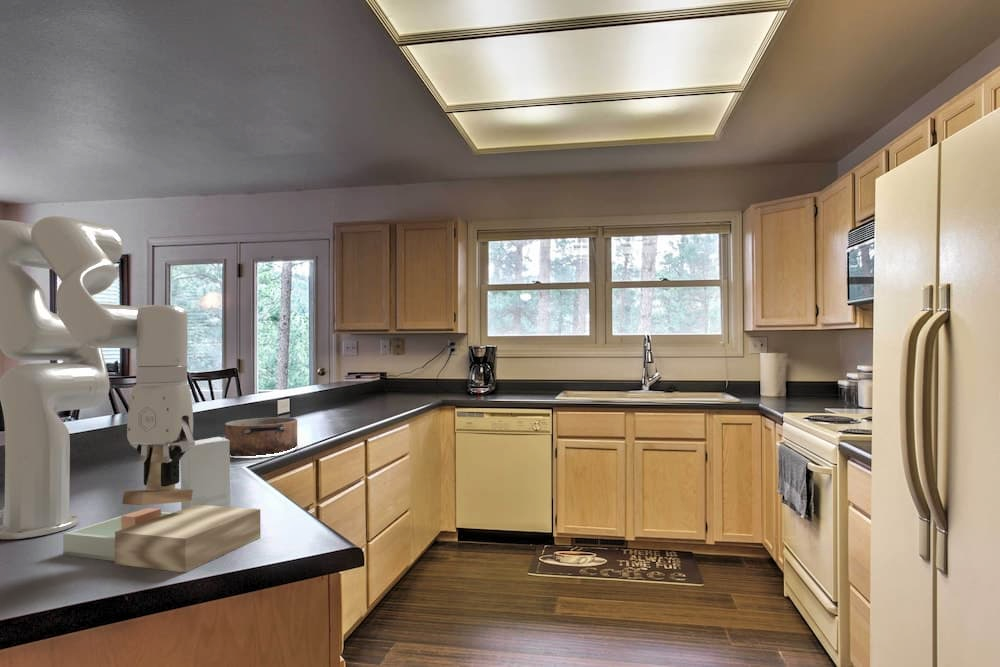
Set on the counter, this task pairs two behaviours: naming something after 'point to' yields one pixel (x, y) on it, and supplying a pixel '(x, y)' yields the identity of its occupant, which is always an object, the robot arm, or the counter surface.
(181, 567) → the birch block
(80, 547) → the box
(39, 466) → the robot arm
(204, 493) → the skincare box
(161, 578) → the counter surface
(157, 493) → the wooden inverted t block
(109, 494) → the counter surface
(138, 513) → the salmon pink brick
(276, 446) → the cooking pot
